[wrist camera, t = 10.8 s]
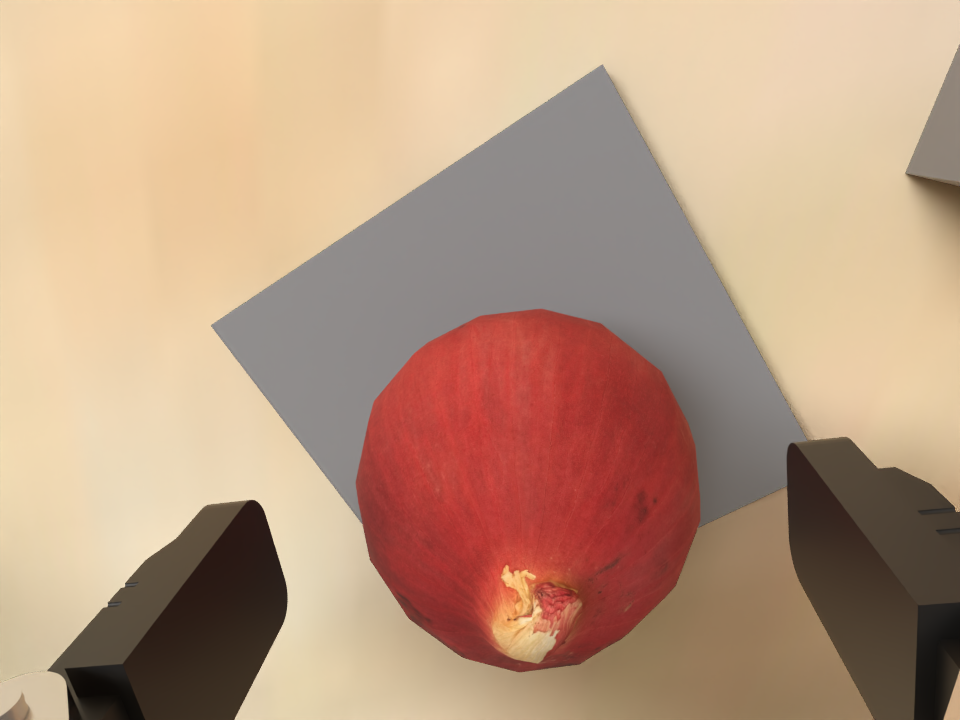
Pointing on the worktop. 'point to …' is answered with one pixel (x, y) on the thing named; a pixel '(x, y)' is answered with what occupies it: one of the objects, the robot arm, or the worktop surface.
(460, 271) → the mat
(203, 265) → the worktop surface
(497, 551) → the onion
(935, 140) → the marked cube
